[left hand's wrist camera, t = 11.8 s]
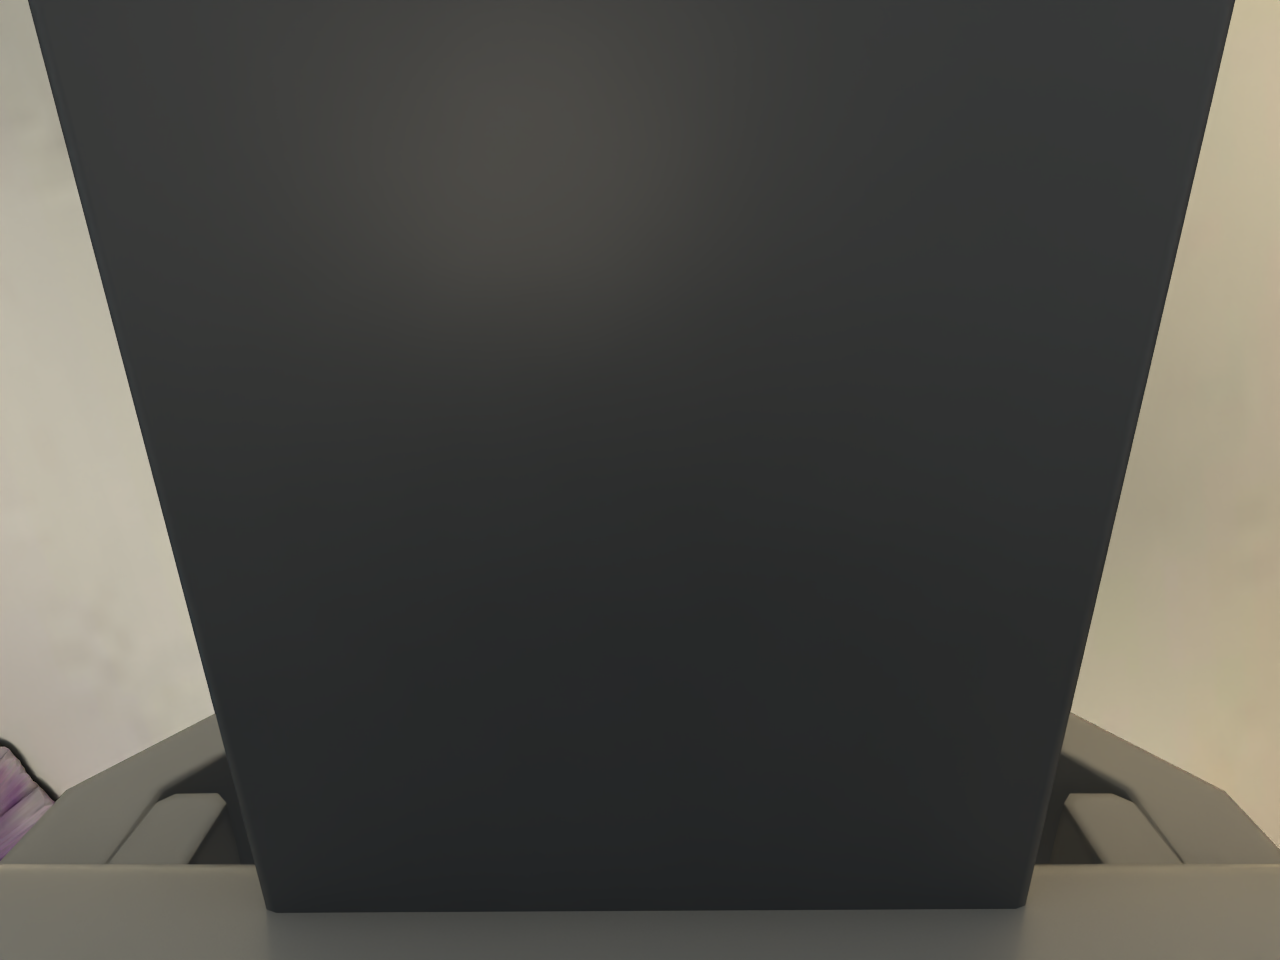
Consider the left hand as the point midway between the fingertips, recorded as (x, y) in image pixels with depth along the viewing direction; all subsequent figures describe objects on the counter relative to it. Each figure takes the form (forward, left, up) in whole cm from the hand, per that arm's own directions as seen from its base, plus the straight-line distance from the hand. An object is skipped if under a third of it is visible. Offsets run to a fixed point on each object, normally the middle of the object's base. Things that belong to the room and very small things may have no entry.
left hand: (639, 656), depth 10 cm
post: (+3, -27, -3) cm, 27 cm away
